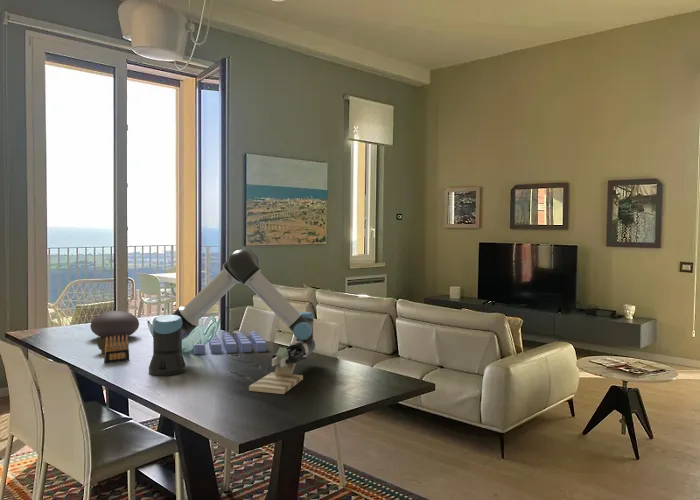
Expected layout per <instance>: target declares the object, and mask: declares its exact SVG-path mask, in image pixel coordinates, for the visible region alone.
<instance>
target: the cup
mask: <svg viewBox="0 0 700 500" xmlns="http://www.w3.org/2000/svg"><path fill="white" fill-rule="evenodd" d="M106 337H107V336H106ZM106 337H105V336H103V337H102V336H101V337H99V336H97V337H96V343H97V348H98V349H99V351H100V353H101V354H102V353H105V341H106ZM111 337H112V344H113V340H114V339H113V338H114V337H113V336H111ZM109 340H110V337H108V345H109Z"/></svg>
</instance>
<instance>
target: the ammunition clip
mask: <svg viewBox="0 0 700 500" xmlns="http://www.w3.org/2000/svg"><path fill="white" fill-rule="evenodd" d="M127 360H128V361H130V350H129V336H127V334H126V337H124V336H123V335H122V338H120V336H119V335H118V339H116V336H114V339H113V344H112V337H111V336H110V340H109V345H108V337H106V341H105V354H104V359H103V362H104V363H105V364H111V362H112V363H119V362H118V361H120V362H126V361H127Z"/></svg>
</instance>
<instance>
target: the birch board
mask: <svg viewBox="0 0 700 500" xmlns="http://www.w3.org/2000/svg"><path fill="white" fill-rule="evenodd" d="M301 380H302V381H303V380H304V375H303V374H294V373H293V374H292V376H291V377H287V376H276V375H275V373H274V372H272V371H271V372H270V373H268V374H266V375H265V376H263V377H261V378H259V379H258V380H257V381H255V382H253V383H252V384H250V385H249V386H248V391H249V392H258V393H259V392H260V393H271V394H279V395H284V394H286V393H287V392H288V391H290V390H291V389H292V388H293V387H295V386H296V385H298V384H299V383H300V382H302V381H301Z"/></svg>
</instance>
